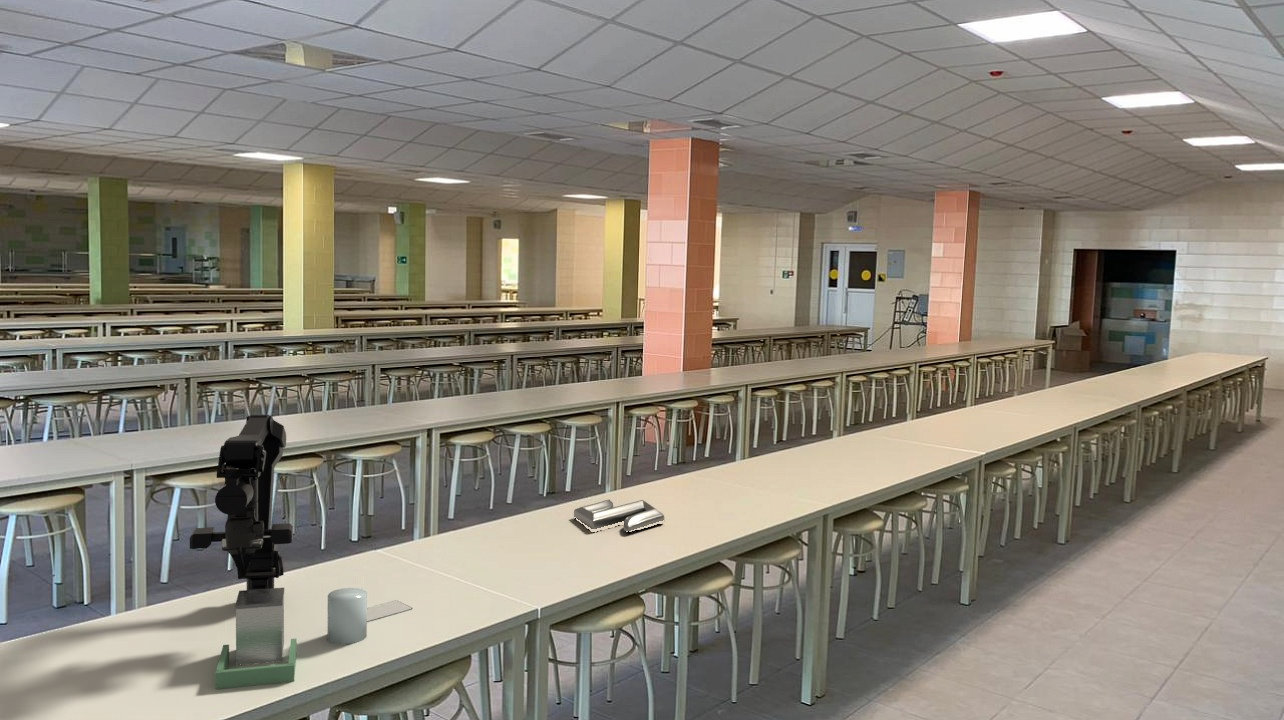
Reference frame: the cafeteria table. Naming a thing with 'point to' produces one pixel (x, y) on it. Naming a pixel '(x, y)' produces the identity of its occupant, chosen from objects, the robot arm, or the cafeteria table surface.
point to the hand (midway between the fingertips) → (243, 577)
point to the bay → (254, 671)
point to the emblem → (618, 514)
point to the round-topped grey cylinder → (347, 615)
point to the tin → (259, 626)
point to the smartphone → (386, 610)
